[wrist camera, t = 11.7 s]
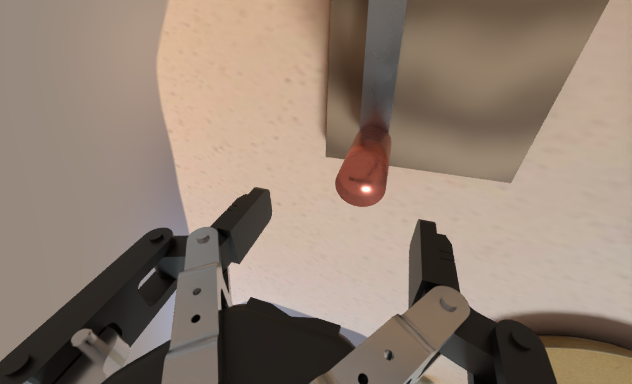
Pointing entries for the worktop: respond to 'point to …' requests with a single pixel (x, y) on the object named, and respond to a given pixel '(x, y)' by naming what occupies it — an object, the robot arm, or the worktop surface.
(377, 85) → the lever
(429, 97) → the nutcracker board
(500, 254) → the worktop surface
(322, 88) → the worktop surface
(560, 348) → the plant saucer
